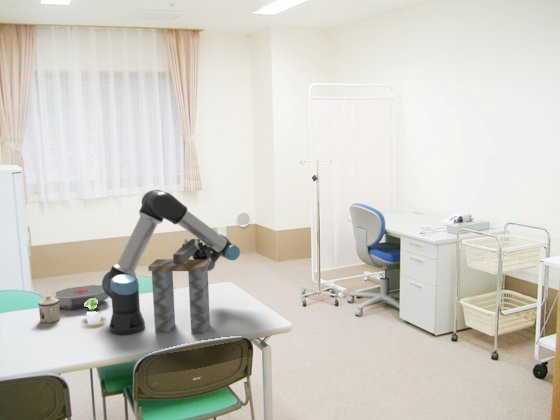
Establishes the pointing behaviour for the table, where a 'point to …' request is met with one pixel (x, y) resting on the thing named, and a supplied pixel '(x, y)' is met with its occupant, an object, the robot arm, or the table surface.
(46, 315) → the teacup with lid
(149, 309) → the table surface
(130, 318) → the robot arm
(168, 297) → the bench
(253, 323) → the table surface
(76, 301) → the first aid kit
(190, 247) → the dark grey bar
